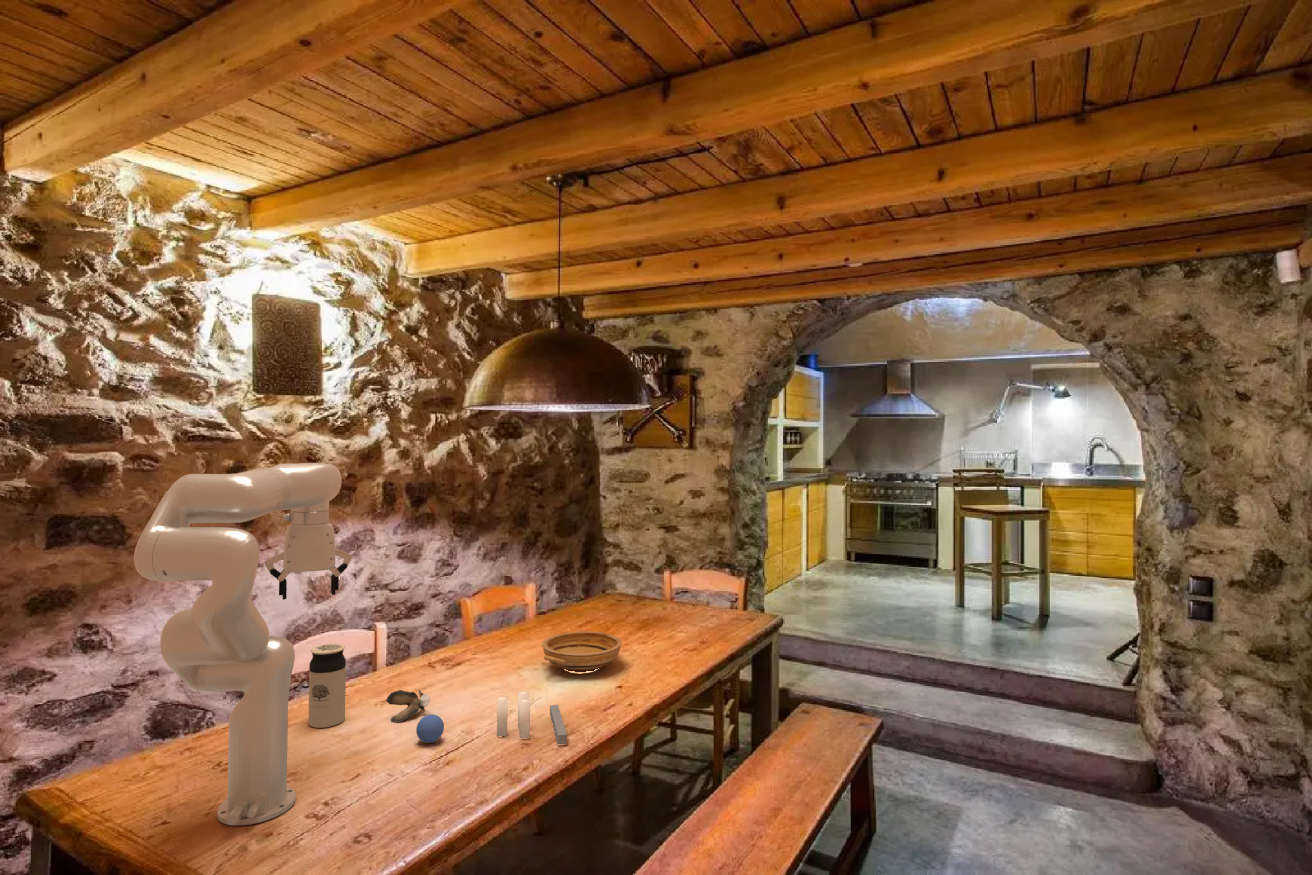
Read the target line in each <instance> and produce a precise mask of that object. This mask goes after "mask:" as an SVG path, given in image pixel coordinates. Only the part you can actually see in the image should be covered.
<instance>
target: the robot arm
mask: <svg viewBox="0 0 1312 875" xmlns="http://www.w3.org/2000/svg"><path fill="white" fill-rule="evenodd" d="M342 479H343V478H342V474H341V472H340V470H339V468H338V467H337V466H336V465H334V464H331V463H322V462H300V463H279V464H275V465H274V466H271V467H261V468H257V469H251V470H248V471H242V472H238V473H220V474H219V473H188V474H185V475H182V476H181V477H179V478H178V479H177V480H175V481H174V482H173V483H172V484H171V486H170V487H169V488H168V490H167V491H166V492H165V493H164V495H163V496H162V498H161V499H160V501H159V503H158V504H157V506H156V508H155V509H154V512H153V513H152V515H151V517H150V519H149V520H148V522H147V523H146V525H145V527H144V529H143V531H142V532H141V534H140V536H139V538H138V541H137V543H136V546H135V549H134V554H133V564H134V568H135V570H136V571H137V573H138V574H139V576H141V577H142V578H145V579H147V580H150V581H154V582H181V581H182V582H183V581H184V582H191V581H192V582H194V581H195V582H196V581H198V582H199V581H202V582H203V581H206V582H207V581H211V582H212V584H211V585H210V586H208V587H207V588H206V589H205V590H204V591H203V592H202V593H200V595H199V596H198V598H197V599H196V601H195V602H194V603H193V605H192V608H187V609H184V610H180V611H178V612H176V613H174V614H173V615H172V616H170V617H169V619H168V620H167V621H166V623H165V624H164V626H163V628H162V630H161V635H160V641H159V642H160V643H159V644H160V652H161V655H162V658H163V660H164V662H165V663H166V665H167V666H168V667H169V669H171V670H172V671H173V672H174V673H175V674H176V676H178V678H180V680H182V682H183V683H185V685H186V686H188V687H189V688H190V689H192V690H195V691H199V692H230V691H231V692H243V693H244V695H243V697H242V698H241V699H240V700H239V702H237V703H236V705H235V706H234V707H233V708H232V710H231V712H230V715H229V717H228V753H227V754H228V756H227V757H228V758H227V761H228V762H227V763H228V764H227V798H226V799H225V800H224V801H223V802H222V803H221V804H219V806H218V808H217V811H216V812H217V813H216V815H217V816H216V818H217V819H218V821H219V822H220V823H222V824H224V825H229V826H238V827H239V826H248V825H249V826H250V825H254V824H255V825H256V824H259V823H263V822H267V821H269V820H271V819H275V818H276V817H279V816H280V815H283V813H286V812H287V811H288V810H290V809H291V808H292V806H293V805H294V804H295V802H296V800H297V792H296V790H295V789H294V788H293V787H290V786H288V742H289V740H288V738H289V737H288V736H289V735H288V732H289V730H288V729H289V699H290V697H289V696H290V686H291V680H292V675H293V669H294V665H295V660H296V659H295V658H296V655H295V654H296V653H295V647H294V645H293V643H292V642H290V641H289V640H288V639H287V638H284V637H281V636H276V635H270V630H269V627H268V625H267V623H266V620H265V619H264V617H263V616H262V615H261V613H260V612H259V610H258V608H257V607H256V606H255V604H254V602H253V600H252V599H251V596H252V592H253V589H254V585H255V581H256V577H257V572H258V566H259V560H260V547H259V542H258V540H257V538H256V537H255V536H254V535H253V534H252V533H250V532H249V531H247V530H244V529H241V528H236V527H228V526H227V527H225V526H224V527H223V526H221V527H220V526H205V527H203V526H202V527H201V526H200V527H199V526H198V527H197V526H191V524H233V523H234V524H235V523H236V524H237V523H238V524H239V523H244V522H248V521H251V520H254V519H258V518H259V517H262V516H264V515H268V514H271V513H273V512H280V511H287V510H290V512H289V513H287V514H282V515H283V516H282V518H283V522H284V521H285V522H286V521H287V522H289V523H290V524H289V525H287V526H286V530H285V535H284V541H283V542H284V545H283V551H282V552H280V553H277V554H275V555H274V556H272V557H270V558H268V559H266V560H265V561H264V565H265V567H266V569H267V571H268V572H269V574H270V575H271V576H272V577H274V578H275V579H277V581H278V596H281V597H282V600H284V601H285V600H287V595H288V594H287V591H288V587H287V583H288V581H287V580H288V579H286V578H287V577H288V576H289V575H290V574H291V573H306V572H318V571H319V572H320V571H329V572H330V573H331V575H330V593H331V595H332V596H335V595H336V591H339V589H340V588H339V585H340V583H339V581H340V580H339V577H340V575H341V574H342V573H343V572H344V571H345V570H346V569H348V566H349V565H350V563H351V561H352V559H353V555H352V554H350V553H349V552H345V551H343V550H340V549H338V548H336V537H335V536H336V535H335V530H334V525H333V523H330V511H329V510H330V501H332V500H333V499H335V497H336V496H338V494H339V492H340V490H341V487H342ZM336 556H337V557H339V558H342V559H343V561H342V563H341V564H340V565H339V566H337V567H336V566H335V565H336ZM281 560H283V569H282V570H281V571H279V570H278V569H277V568H276V567H275V566H274V564H275V563H278V562H279V561H281Z"/></svg>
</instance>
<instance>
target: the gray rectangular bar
mask: <svg viewBox="0 0 1312 875" xmlns="http://www.w3.org/2000/svg"><path fill="white" fill-rule="evenodd" d="M560 710H561V709H560V707H559V704H551V705H549V716H551V718H550V721H551V720H552V722H551V724H552V723H553V726H552V728H553V727H554V729H553V732H554V731H555V733H554V737H555V736H556V737H555V741H556V740H557V741H556V744H567V743H568V734H567V733H568V732H567V731H566V726H565V723H564V721H563V720H564V719H563V717H562V713H561V711H560Z"/></svg>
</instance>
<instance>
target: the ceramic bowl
mask: <svg viewBox="0 0 1312 875" xmlns="http://www.w3.org/2000/svg"><path fill="white" fill-rule="evenodd" d="M622 644H623V641H622V639H620V638H619V637H618V636H616V635H615V634H610V633H606V632H601V631H600V632H599V631H591V630H590V631H587V630H585V631H581V630H580V631H568V632H563V633H557V634H554V635H551V636H548V637H547V638H545V639H544V640H543V641H542V642H541V646H542V648H543V653H544V656H543V659H544V661H548V662H550V663H551V664H553V665H554V666H557V667H559V668H562V669H563V668H564V669H566V670H568V671H575V672H586V671H594V670H595V669H598V668H600V669H601V668H602V667H605V666H607V665H609V664H610V663H612V662H613V661H615V659H616V658H617V657H618V655H619V653H620V650H621V646H622ZM564 669H563V670H564Z"/></svg>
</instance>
